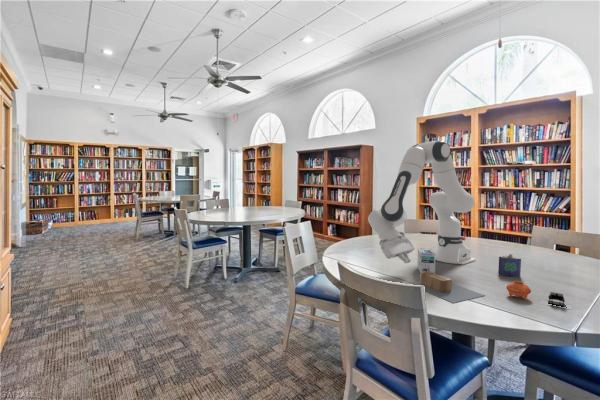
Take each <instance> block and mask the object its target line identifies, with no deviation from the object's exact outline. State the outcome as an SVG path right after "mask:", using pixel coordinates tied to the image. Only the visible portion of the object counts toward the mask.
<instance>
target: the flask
mask: <svg viewBox="0 0 600 400" xmlns="http://www.w3.org/2000/svg"><path fill="white" fill-rule="evenodd" d="M513 256H514V255H513V253H509V255H502V256H498V270H497V271H498V272H497V274H499V275H498V276H501V275H506V276H505V277H511V276H520V277H521V272H522V271H521V269H522V265H521V264H522V258H521V257H513Z"/></svg>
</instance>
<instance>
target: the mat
mask: <svg viewBox="0 0 600 400" xmlns="http://www.w3.org/2000/svg"><path fill="white" fill-rule="evenodd" d="M423 286H425V285H423ZM424 292H426V293H429V294H430V295H433V296H435V297H438V298H440V299H442V300H445V301H447V302H450V303H451V304H455V303H461V302H464V301H469V300H474V299H479V298H482V297H486V295H485V294H482V293H480V292H477V291H475V290H471V289H469V288H467V287H463V286H460V285H459V284H455V283H452V286H451V291H450V292H445V293H441V292H439V291H437V290H434V289H432V288H430V287H427V286H425V291H424Z"/></svg>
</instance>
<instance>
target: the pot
mask: <svg viewBox="0 0 600 400" xmlns="http://www.w3.org/2000/svg"><path fill="white" fill-rule="evenodd" d="M506 290H507V291H508V295H509V297H511V296H512V297H513V295H514V296H515V297H523V299H525V301H527V298H528V296H529V295H530V294H531V292H532V289H531V288H530V287H529V285H527V284H525V283H524V282H523V281H519V280H514V281H513V282H510V283H508V284H507V285H506Z"/></svg>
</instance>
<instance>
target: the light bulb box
mask: <svg viewBox="0 0 600 400" xmlns="http://www.w3.org/2000/svg"><path fill="white" fill-rule="evenodd" d="M435 258H436V252H435V251H433V250H432V248H423V247H417V269H418V271H419V274H420V273H422V272H428V271H430V272H433V273H435V274H436V259H435Z"/></svg>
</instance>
